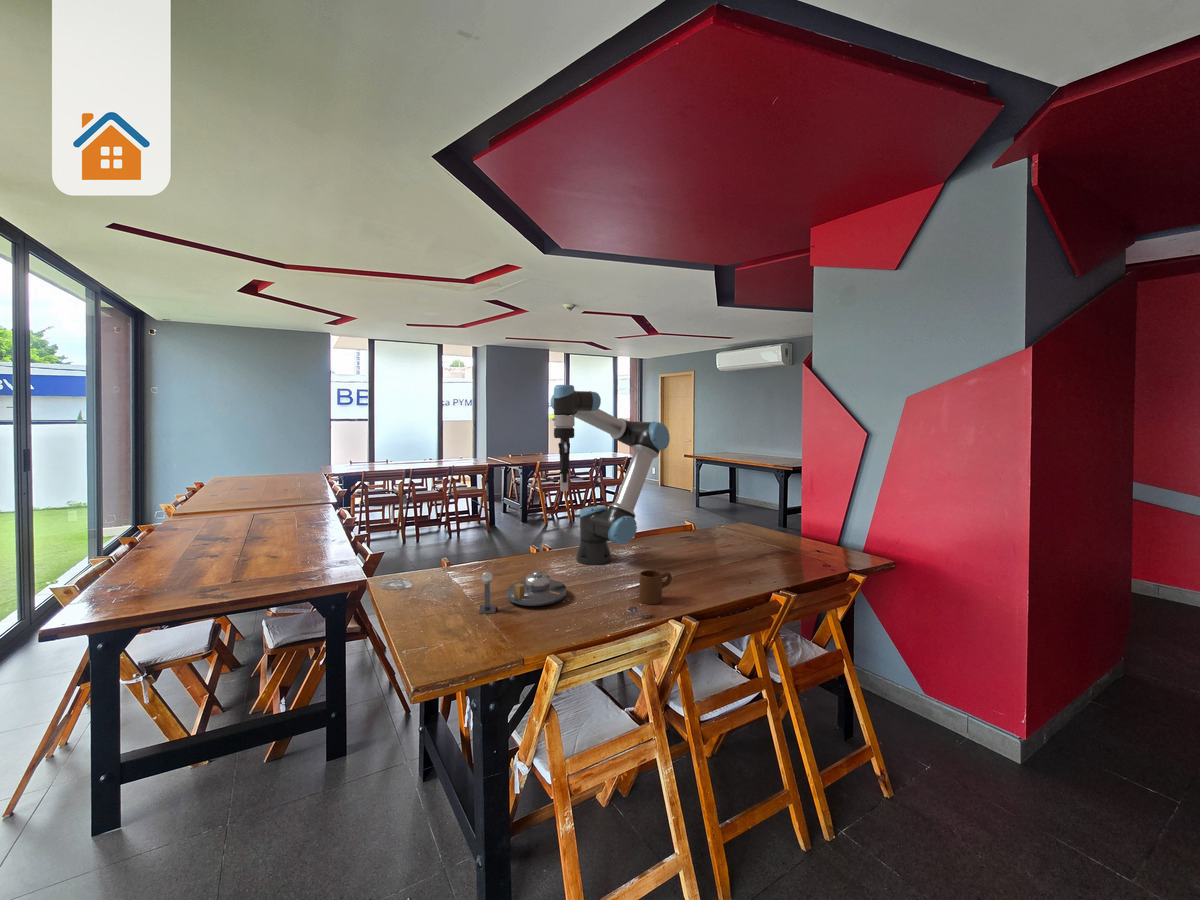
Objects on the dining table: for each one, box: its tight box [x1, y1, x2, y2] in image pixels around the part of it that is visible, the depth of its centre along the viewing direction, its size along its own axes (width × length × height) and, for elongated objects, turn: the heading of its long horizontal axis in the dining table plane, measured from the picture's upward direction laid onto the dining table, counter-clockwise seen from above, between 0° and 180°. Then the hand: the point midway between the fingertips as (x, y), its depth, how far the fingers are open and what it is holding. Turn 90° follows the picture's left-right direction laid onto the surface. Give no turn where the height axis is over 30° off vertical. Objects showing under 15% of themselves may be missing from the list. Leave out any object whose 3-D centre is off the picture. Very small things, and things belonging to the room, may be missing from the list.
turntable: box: [506, 578, 567, 607], centre depth 168 cm, size 20×20×6 cm
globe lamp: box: [478, 571, 497, 615], centre depth 157 cm, size 5×5×13 cm
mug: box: [638, 569, 673, 605], centre depth 166 cm, size 12×8×9 cm, turn 114°
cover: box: [525, 570, 550, 592], centre depth 168 cm, size 8×8×6 cm
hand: (564, 490), depth 182 cm, fingers closed
